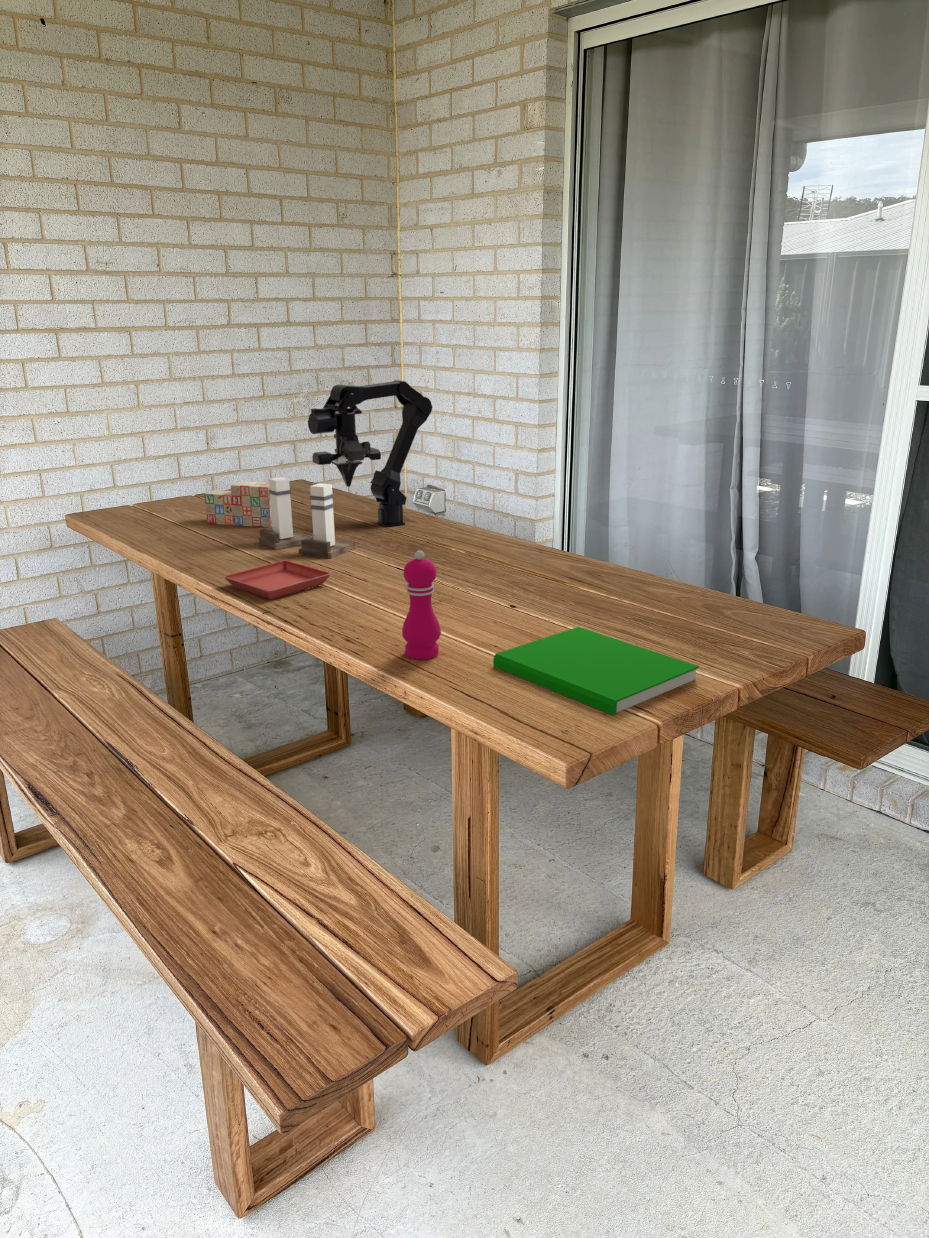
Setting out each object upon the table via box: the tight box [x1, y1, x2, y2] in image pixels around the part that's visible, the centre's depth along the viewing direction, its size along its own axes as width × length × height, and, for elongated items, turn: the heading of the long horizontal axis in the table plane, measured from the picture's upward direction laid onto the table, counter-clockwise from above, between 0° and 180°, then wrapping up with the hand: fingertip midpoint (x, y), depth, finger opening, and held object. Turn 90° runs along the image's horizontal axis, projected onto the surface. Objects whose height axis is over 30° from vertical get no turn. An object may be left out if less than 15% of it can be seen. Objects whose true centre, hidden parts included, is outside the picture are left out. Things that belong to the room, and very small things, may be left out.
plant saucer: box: [223, 559, 332, 600], centre depth 218 cm, size 18×18×3 cm
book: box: [492, 626, 700, 716], centre depth 165 cm, size 22×28×3 cm
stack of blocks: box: [203, 481, 272, 528], centre depth 280 cm, size 21×6×12 cm, turn 74°
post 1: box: [268, 476, 294, 539], centre depth 254 cm, size 4×4×16 cm
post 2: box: [309, 483, 336, 546], centre depth 244 cm, size 4×4×16 cm
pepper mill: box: [401, 550, 442, 660], centre depth 172 cm, size 7×7×20 cm
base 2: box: [298, 539, 356, 559], centre depth 248 cm, size 12×10×4 cm
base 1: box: [258, 528, 314, 550], centre depth 257 cm, size 12×10×4 cm
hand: (348, 486), depth 266 cm, fingers closed
